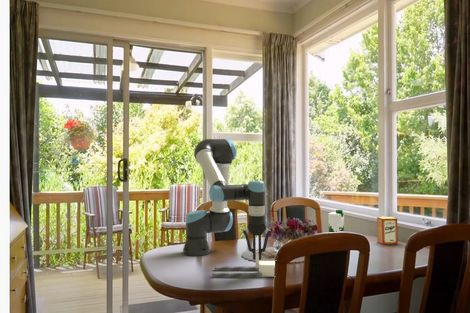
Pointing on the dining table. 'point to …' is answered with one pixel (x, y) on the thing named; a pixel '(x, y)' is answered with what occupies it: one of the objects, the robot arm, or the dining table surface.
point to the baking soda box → (387, 230)
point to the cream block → (266, 268)
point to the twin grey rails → (236, 275)
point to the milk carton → (336, 221)
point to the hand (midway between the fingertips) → (257, 266)
